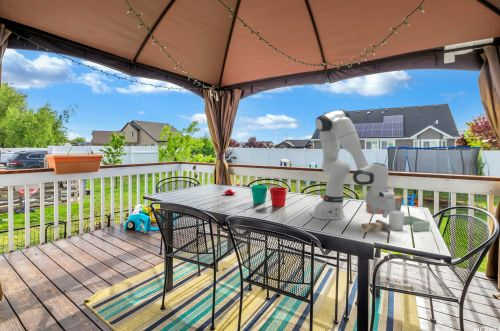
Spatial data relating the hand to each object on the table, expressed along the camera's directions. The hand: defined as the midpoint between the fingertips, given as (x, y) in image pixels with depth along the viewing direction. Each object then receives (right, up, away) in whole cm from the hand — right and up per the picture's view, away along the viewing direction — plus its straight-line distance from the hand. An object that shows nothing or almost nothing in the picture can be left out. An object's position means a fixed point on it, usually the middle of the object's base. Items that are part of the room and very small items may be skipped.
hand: (379, 215), depth 140 cm
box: (+23, -9, +6) cm, 25 cm away
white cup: (+12, -9, +4) cm, 15 cm away
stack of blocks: (+23, -6, +37) cm, 44 cm away
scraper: (-4, -9, +1) cm, 10 cm away
